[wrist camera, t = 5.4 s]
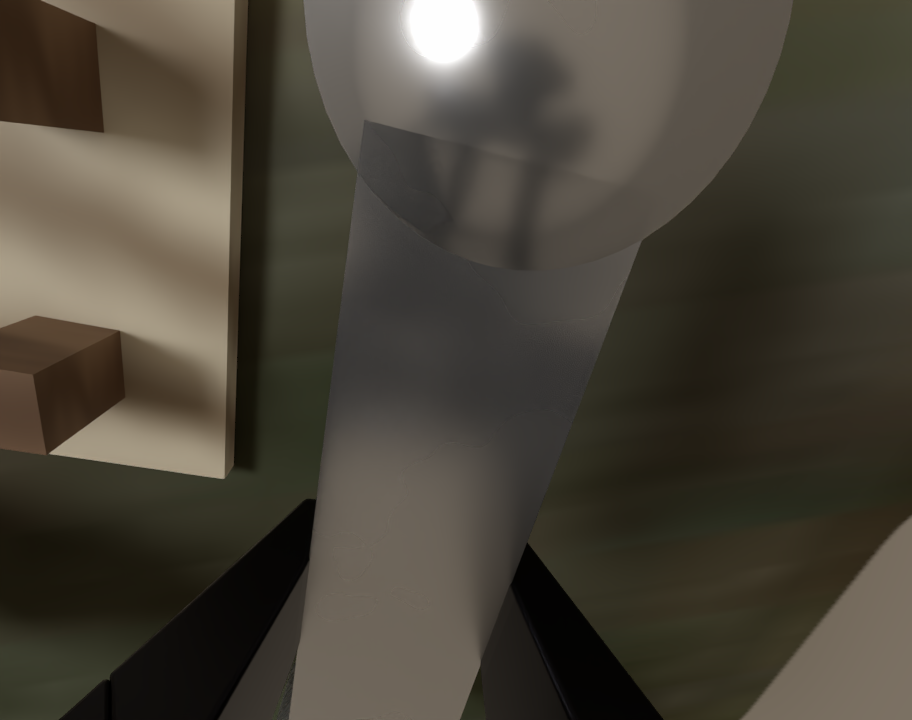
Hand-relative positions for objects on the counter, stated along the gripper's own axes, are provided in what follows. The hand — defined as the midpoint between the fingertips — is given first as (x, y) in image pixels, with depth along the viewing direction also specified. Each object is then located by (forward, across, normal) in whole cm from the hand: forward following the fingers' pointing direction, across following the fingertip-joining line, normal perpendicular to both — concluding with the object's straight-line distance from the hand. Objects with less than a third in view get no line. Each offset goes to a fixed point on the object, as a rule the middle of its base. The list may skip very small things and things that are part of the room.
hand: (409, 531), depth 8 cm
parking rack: (+12, +13, -1) cm, 18 cm away
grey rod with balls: (+2, 0, 0) cm, 2 cm away
